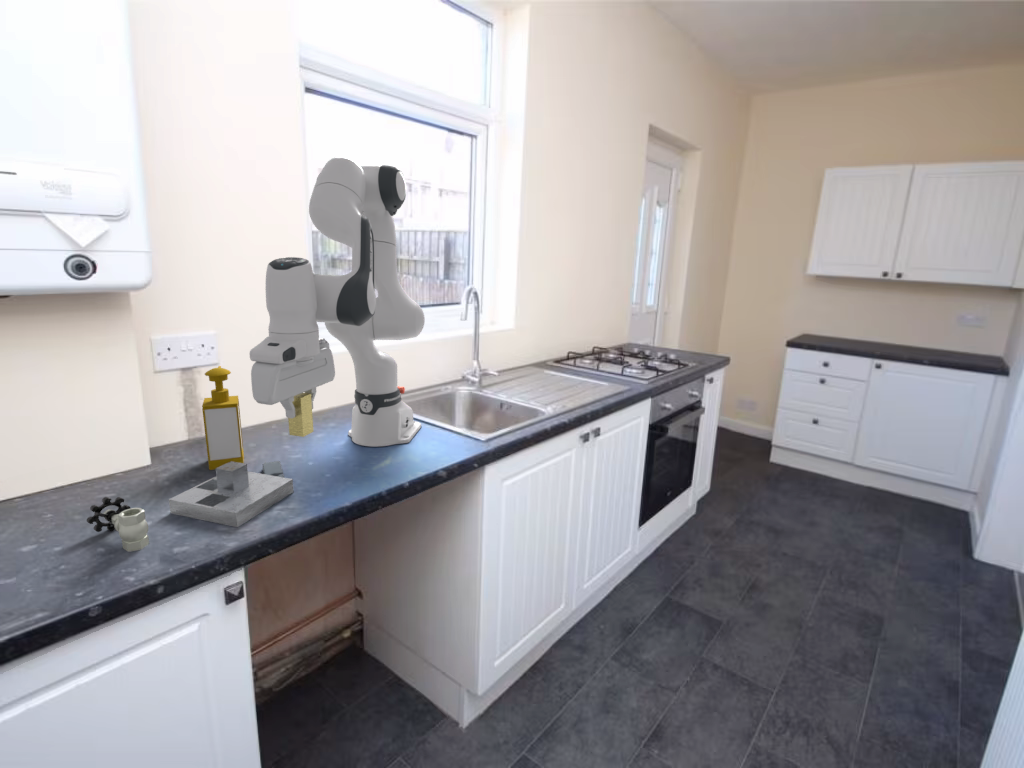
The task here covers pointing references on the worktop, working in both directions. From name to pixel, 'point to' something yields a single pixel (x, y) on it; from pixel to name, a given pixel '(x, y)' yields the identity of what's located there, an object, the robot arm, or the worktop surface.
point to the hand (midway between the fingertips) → (300, 413)
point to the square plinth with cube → (231, 495)
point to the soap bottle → (222, 423)
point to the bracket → (273, 469)
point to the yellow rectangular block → (302, 416)
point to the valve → (122, 523)
